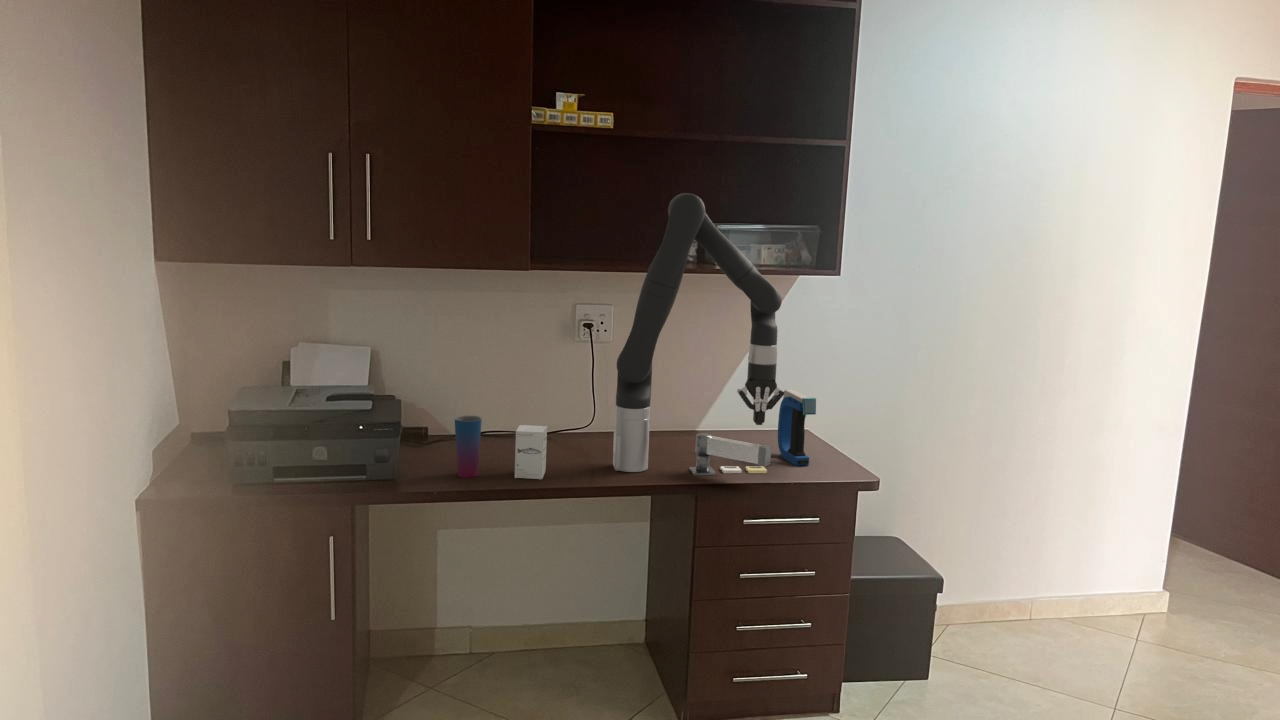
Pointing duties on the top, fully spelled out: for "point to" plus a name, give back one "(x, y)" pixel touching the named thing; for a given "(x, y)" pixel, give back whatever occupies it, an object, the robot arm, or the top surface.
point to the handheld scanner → (794, 426)
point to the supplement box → (530, 451)
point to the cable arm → (733, 449)
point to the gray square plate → (702, 466)
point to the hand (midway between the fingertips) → (758, 424)
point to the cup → (467, 445)
